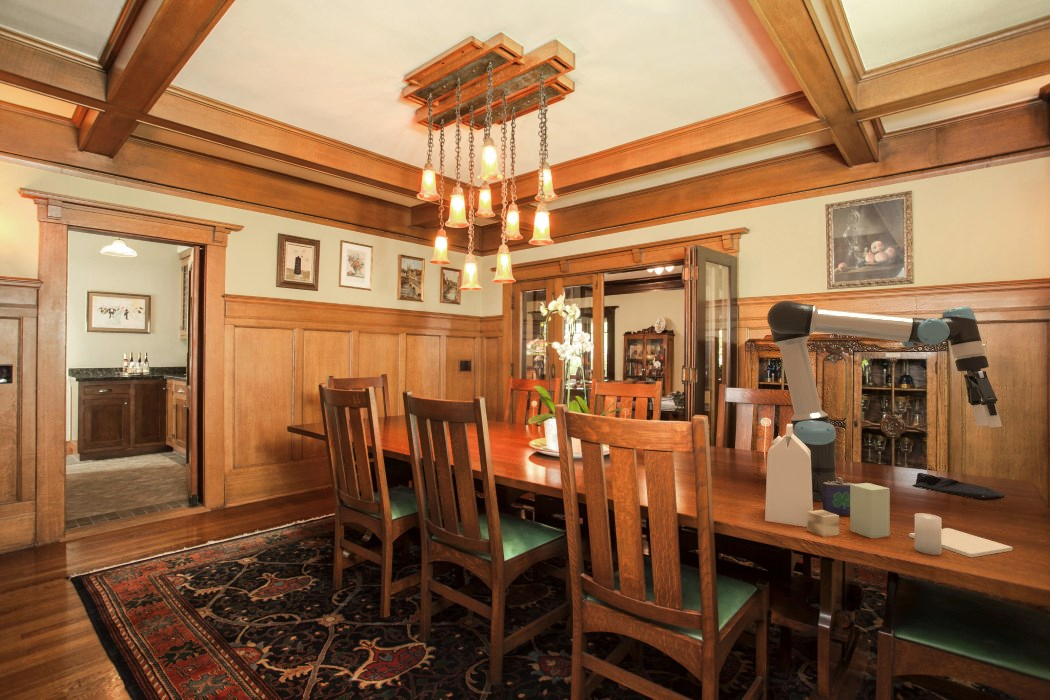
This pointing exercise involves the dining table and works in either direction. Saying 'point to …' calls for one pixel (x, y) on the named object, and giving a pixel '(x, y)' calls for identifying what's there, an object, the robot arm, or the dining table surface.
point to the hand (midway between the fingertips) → (989, 426)
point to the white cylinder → (928, 533)
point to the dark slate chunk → (955, 487)
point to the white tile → (969, 544)
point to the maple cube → (823, 523)
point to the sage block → (870, 510)
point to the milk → (788, 481)
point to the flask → (836, 497)
